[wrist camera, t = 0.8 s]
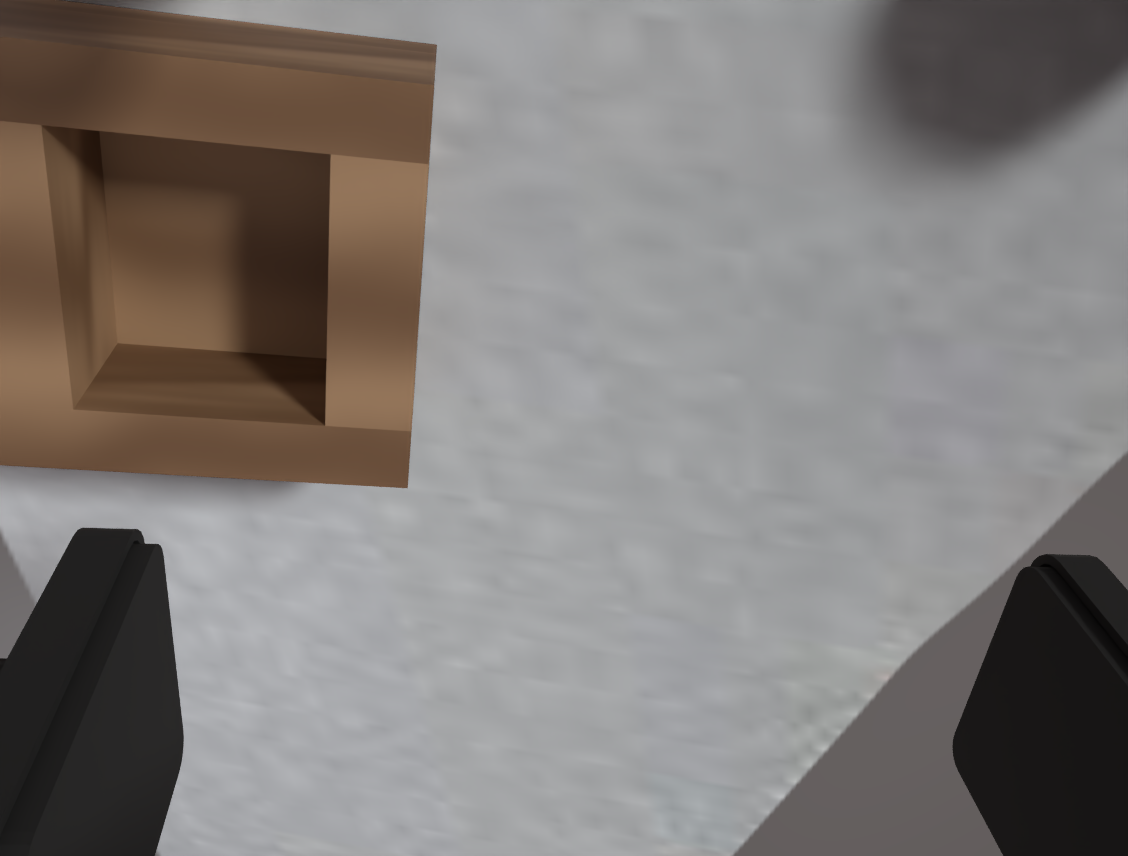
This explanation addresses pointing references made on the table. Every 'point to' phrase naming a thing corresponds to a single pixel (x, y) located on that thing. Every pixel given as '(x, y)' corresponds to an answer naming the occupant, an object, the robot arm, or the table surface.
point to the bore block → (209, 245)
